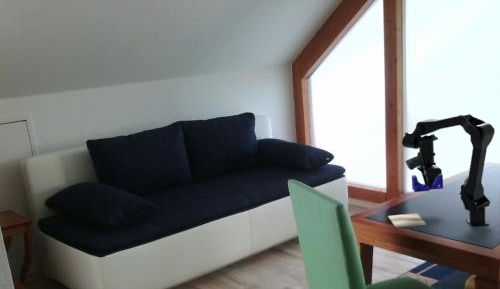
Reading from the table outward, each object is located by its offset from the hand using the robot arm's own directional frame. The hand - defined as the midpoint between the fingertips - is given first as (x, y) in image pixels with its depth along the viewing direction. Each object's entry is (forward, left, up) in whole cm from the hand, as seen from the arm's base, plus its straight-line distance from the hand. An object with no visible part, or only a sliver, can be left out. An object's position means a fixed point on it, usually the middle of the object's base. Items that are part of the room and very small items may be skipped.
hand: (428, 186), depth 216 cm
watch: (+8, -21, -11) cm, 25 cm away
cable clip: (0, 0, -2) cm, 2 cm away
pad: (-9, +12, -11) cm, 19 cm away
